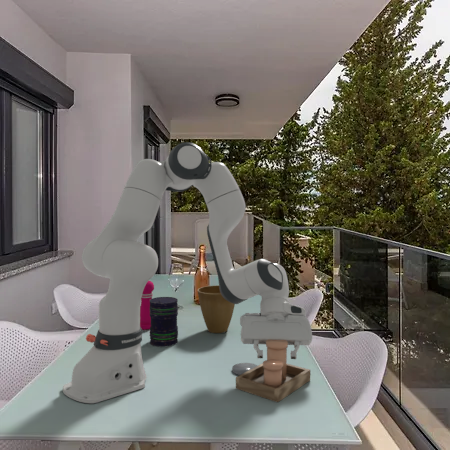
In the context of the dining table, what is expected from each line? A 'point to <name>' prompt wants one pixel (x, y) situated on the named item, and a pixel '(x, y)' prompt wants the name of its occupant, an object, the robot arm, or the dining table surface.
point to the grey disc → (242, 368)
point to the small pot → (273, 373)
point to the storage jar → (163, 321)
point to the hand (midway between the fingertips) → (276, 357)
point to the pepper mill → (146, 306)
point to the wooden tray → (255, 385)
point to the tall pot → (278, 353)
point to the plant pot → (215, 309)
